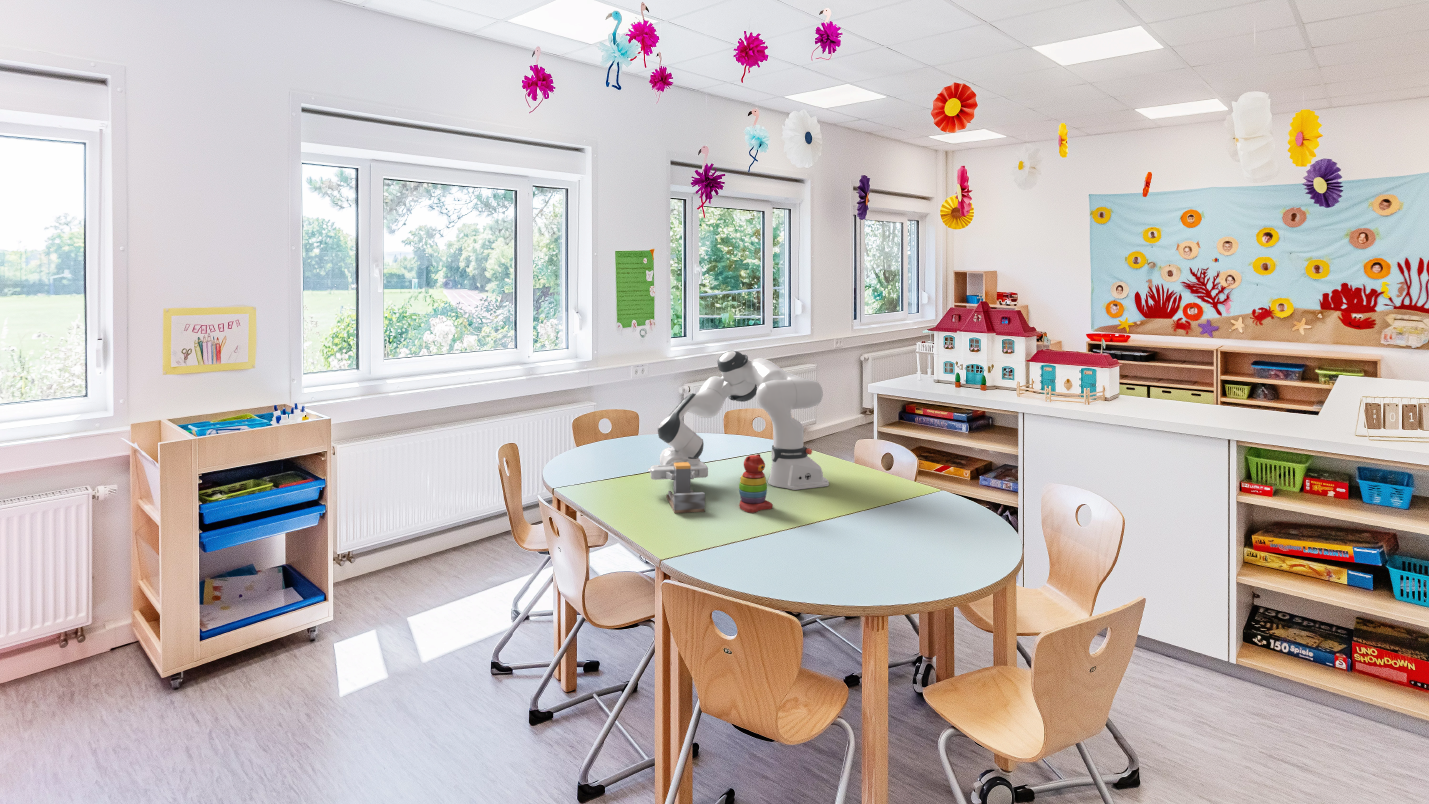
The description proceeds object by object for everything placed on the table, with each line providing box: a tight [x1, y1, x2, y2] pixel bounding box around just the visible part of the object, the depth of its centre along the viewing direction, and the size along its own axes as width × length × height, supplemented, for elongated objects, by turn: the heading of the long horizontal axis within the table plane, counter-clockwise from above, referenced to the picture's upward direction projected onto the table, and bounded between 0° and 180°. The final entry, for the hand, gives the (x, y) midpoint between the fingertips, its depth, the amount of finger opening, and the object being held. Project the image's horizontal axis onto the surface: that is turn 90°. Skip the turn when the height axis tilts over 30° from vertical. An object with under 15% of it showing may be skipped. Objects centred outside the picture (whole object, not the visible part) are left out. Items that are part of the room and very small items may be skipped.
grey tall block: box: [673, 462, 692, 494], centre depth 262 cm, size 5×5×11 cm
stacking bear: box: [738, 453, 774, 514], centre depth 254 cm, size 11×10×18 cm
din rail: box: [665, 489, 706, 514], centre depth 257 cm, size 10×18×6 cm, turn 12°
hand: (682, 477), depth 261 cm, fingers closed on grey tall block, 5 cm apart
